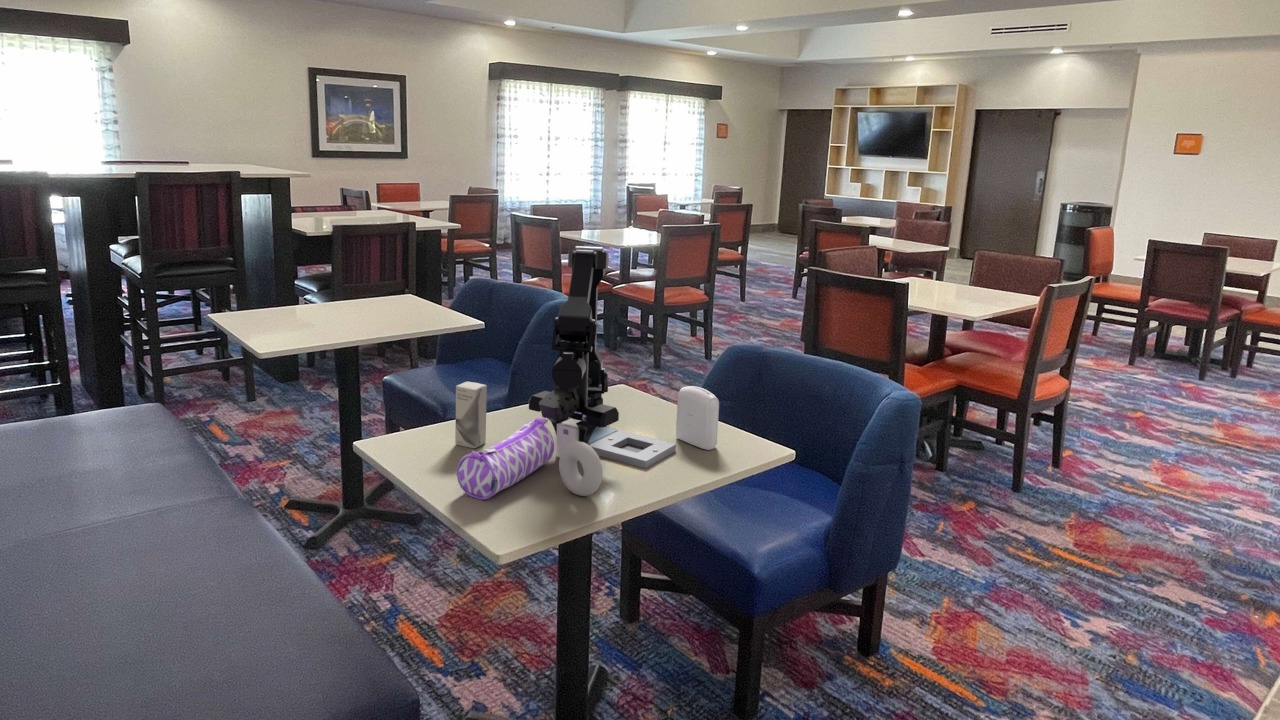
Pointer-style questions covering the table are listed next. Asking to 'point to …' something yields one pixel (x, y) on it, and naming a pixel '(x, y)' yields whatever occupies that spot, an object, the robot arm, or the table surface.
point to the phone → (601, 434)
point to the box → (470, 414)
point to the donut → (590, 467)
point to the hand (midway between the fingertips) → (572, 448)
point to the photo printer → (697, 417)
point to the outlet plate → (633, 448)
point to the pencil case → (506, 461)
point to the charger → (566, 434)
